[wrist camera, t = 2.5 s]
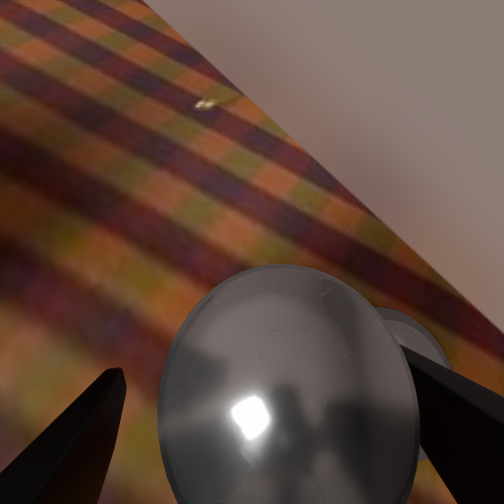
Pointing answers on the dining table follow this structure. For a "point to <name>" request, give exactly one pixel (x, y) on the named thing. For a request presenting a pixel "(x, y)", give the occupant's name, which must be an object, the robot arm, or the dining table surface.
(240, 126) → the dining table surface
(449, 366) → the silver flat disc
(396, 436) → the grey piece
